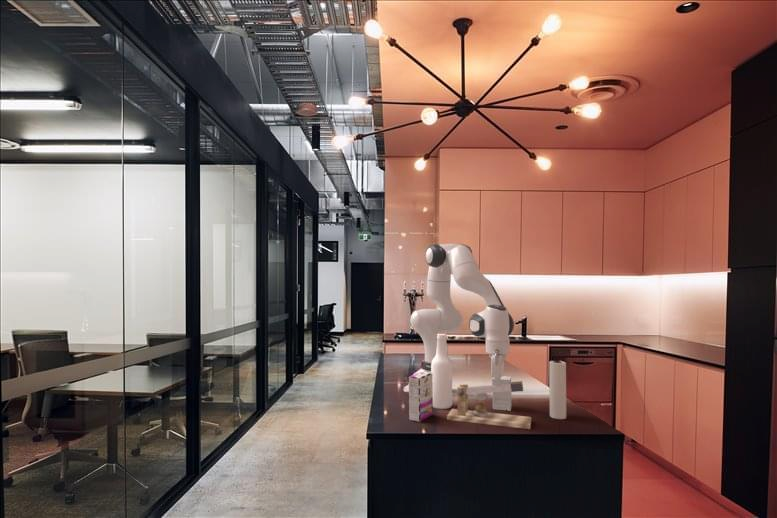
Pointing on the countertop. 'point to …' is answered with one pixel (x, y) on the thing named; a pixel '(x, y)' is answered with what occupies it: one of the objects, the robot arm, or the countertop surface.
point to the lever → (494, 389)
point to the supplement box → (502, 396)
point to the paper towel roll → (557, 389)
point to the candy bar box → (420, 396)
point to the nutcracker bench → (486, 420)
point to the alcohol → (441, 375)
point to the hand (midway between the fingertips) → (497, 385)
